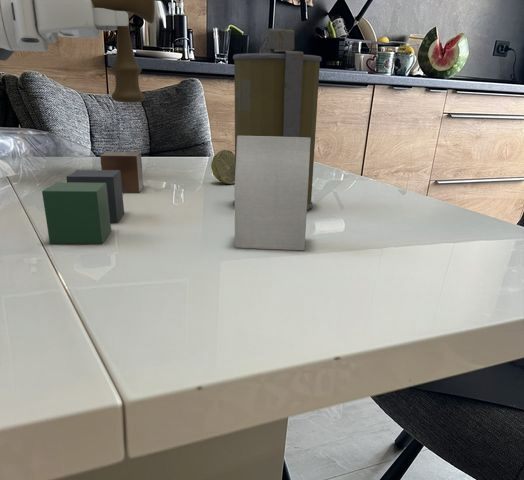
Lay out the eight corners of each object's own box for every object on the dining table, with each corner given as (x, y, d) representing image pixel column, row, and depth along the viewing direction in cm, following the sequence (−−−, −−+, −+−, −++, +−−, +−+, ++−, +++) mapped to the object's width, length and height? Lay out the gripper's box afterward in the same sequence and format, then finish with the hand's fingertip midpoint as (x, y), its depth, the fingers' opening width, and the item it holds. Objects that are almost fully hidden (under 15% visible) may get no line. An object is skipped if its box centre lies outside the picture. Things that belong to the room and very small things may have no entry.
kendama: (97, 101, 87) (82, -51, 79) (159, 102, 89) (150, -46, 81) (95, 102, 82) (79, -61, 73) (160, 103, 84) (152, -56, 75)
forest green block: (49, 243, 53) (41, 190, 51) (62, 231, 57) (55, 182, 55) (102, 243, 53) (96, 191, 51) (111, 231, 58) (106, 182, 56)
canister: (224, 199, 75) (222, 31, 66) (295, 196, 78) (303, 35, 69) (247, 216, 66) (249, 23, 57) (326, 212, 69) (340, 28, 60)
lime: (242, 181, 89) (243, 149, 87) (234, 186, 85) (234, 152, 83) (216, 180, 90) (216, 148, 88) (207, 184, 86) (206, 151, 83)
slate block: (72, 222, 61) (65, 176, 59) (82, 213, 65) (76, 169, 63) (117, 222, 61) (113, 176, 59) (124, 213, 66) (120, 170, 64)
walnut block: (103, 192, 78) (100, 155, 76) (110, 186, 82) (106, 151, 80) (139, 192, 78) (136, 155, 76) (143, 186, 83) (141, 152, 81)
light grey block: (304, 250, 53) (310, 139, 48) (234, 247, 53) (234, 137, 49) (305, 240, 56) (310, 136, 52) (239, 238, 56) (239, 134, 52)
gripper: (43, 46, 89) (130, 49, 92) (20, 36, 71) (130, 40, 74) (37, 0, 86) (127, 5, 89) (12, -22, 68) (126, -15, 71)
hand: (128, 21), depth 81 cm, fingers closed on kendama, 4 cm apart
